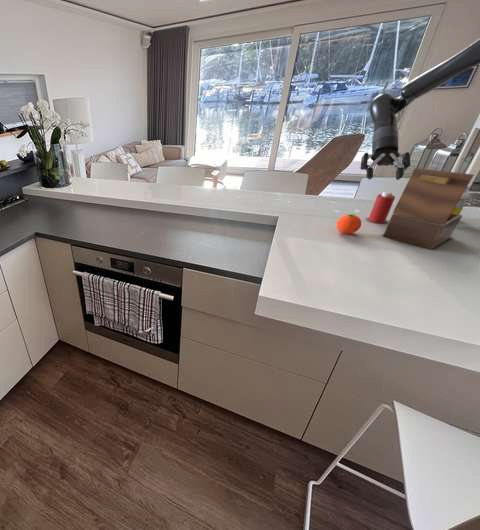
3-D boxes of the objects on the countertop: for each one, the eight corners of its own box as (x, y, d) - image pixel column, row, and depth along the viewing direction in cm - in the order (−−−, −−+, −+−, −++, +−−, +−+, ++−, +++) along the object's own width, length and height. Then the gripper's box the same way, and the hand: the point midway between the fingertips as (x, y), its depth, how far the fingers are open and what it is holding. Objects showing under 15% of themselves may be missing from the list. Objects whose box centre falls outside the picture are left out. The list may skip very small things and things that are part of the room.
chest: (402, 226, 104) (411, 205, 100) (450, 237, 94) (462, 215, 90) (383, 235, 99) (392, 214, 95) (431, 249, 89) (443, 226, 85)
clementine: (334, 226, 108) (340, 208, 104) (357, 230, 104) (364, 211, 101) (333, 235, 102) (339, 216, 99) (357, 238, 99) (364, 219, 95)
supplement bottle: (429, 214, 111) (445, 181, 104) (453, 217, 107) (472, 182, 101) (432, 220, 106) (449, 186, 100) (457, 223, 102) (477, 187, 96)
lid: (415, 168, 89) (409, 167, 87) (474, 174, 79) (468, 174, 77) (393, 213, 95) (386, 214, 93) (444, 224, 85) (439, 225, 83)
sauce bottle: (372, 217, 113) (383, 189, 107) (387, 220, 109) (399, 192, 103) (365, 220, 111) (376, 192, 105) (380, 224, 107) (392, 195, 101)
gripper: (367, 135, 110) (366, 172, 107) (414, 133, 105) (415, 173, 102) (358, 147, 117) (357, 183, 114) (402, 146, 112) (402, 184, 109)
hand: (384, 178), depth 108 cm, fingers open, 8 cm apart
